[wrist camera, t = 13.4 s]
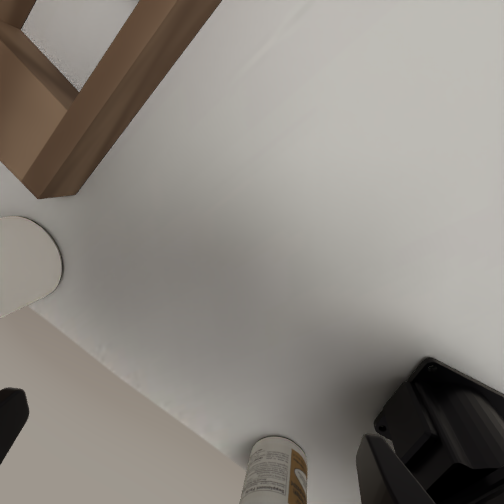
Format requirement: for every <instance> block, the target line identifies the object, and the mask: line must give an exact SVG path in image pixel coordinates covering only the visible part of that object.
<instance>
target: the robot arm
mask: <svg viewBox="0 0 504 504" xmlns="http://www.w3.org/2000/svg"><path fill="white" fill-rule="evenodd" d="M432 365H433V366H434V367H433V368H431V369H429V368H428V367H429V366H432ZM28 416H29V407H28V403H27V399H26V394H25V392H24V390H22V389H18V388H4V389H2V390H0V464H1V463H2V461H3V459H4V458H5V456H6V454H7V453H8V451H9V449H10V448H11V446H12V445H13V443H14V441H15V439H16V438H17V436H18V434H19V433H20V431H21V430H22V428H23V426H24V425H25V423H26V421H27V419H28ZM382 425H383V426H384V427H380V426H382ZM374 427H375V430H376V432H377V433H379V434H381V435H382V436H384V437H386V438H388V439H390V440H392V442H393V445H394V449H395V452H396V454H395V453H394V451H393V450H392V449H391V448H390V446H389V445H388V444H387V443H386V441H385V440H384V439H383V438H382V437H381V436H379V435H374V434H364V435H363V437H362V440H361V443H360V446H359V449H358V452H357V456H356V466H357V473H358V480H359V488H360V495H361V502H362V504H504V394H502V393H500V392H498V391H496V390H494V389H492V388H490V387H488V386H486V385H484V384H482V383H480V382H478V381H476V380H474V379H472V378H471V377H469V376H467V375H465V374H463V373H461V372H459V371H457V370H455V369H453V368H451V367H449V366H447V365H445V364H443V363H441V362H439V361H438V360H436V359H433V358H428V359H425V360H424V361H423V362H422V363H421V364H420V365H419V367H418V368H417V369H416V370H415V371H414V373H413V374H412V375H411V376H410V378H409V379H408V380H407V381H406V382H404V383H403V384H402V385H401V386H400V388H399V389H398V390H397V391H396V393H395V394H394V395H393V396H392V397H391V399H390V400H389V401H388V402H387V404H386V405H385V406H384V407H383V411H382V412H381V413H380V415H379V416H378V417H377V418H376V419H375V421H374Z"/></svg>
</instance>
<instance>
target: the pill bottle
mask: <svg viewBox="0 0 504 504" xmlns="http://www.w3.org/2000/svg"><path fill="white" fill-rule="evenodd" d="M307 469H308V466H307V459H306V456H305V454H304V452H303V451H302V450H301V448H300V447H299V446H297V445H296V444H295V443H294V442H292V441H291V440H289V439H286V438H282V437H267V438H263V439H261V440H260V441H258V442H257V443H256V444H255V445H254V446H253V448H252V451H251V454H250V459H249V463H248V467H247V472H246V477H245V481H244V486H243V490H242V495H241V499H240V503H239V504H307Z"/></svg>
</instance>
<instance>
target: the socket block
mask: <svg viewBox="0 0 504 504" xmlns="http://www.w3.org/2000/svg"><path fill="white" fill-rule="evenodd" d="M35 1H36V0H0V161H1V162H2V163H3V164H4V165H5V166H6V167H7V168H8V169H9V170H10V171H11V172H12V173H13V174H14V175H15V176H16V177H17V178H18V179H19V180H20V181H21V182H22V183H23V184H24V186H25V187H26V188H27V189H28V190H29V191H30V192H31V193H32V194H33V195H34V196H35V197H36V198H37V199H44V198H53V197H61V196H69V195H76V193H77V192H78V191H79V189H80V188H81V187H82V185H83V184H84V183H85V181H86V180H87V179H88V177H89V176H90V175H91V173H92V172H93V171H94V169H95V168H96V167H97V165H98V164H99V163H100V161H101V160H102V159H103V157H104V156H105V155H106V153H107V152H108V151H109V149H110V148H111V147H112V145H113V144H114V143H115V141H116V140H117V139H118V137H119V136H120V135H121V134H122V132H123V131H124V130H125V128H126V127H127V126H128V124H129V123H130V122H131V120H132V119H133V118H134V116H135V115H136V114H137V112H138V111H139V110H140V108H141V107H142V106H143V104H144V103H145V102H146V100H147V99H148V98H149V96H150V95H151V94H152V92H153V91H154V90H155V88H156V87H157V86H158V84H159V83H160V82H161V80H162V79H163V78H164V76H165V75H166V74H167V72H168V71H169V70H170V68H171V67H172V66H173V64H174V63H175V62H176V61H177V59H178V58H179V57H180V55H181V54H182V53H183V51H184V50H185V49H186V47H187V46H188V45H189V43H190V42H191V41H192V39H193V38H194V37H195V35H196V34H197V33H198V31H199V30H200V29H201V27H202V26H203V25H204V23H205V22H206V21H207V19H208V18H209V17H210V15H211V14H212V13H213V11H214V10H215V9H216V7H217V6H218V5H219V3H220V2H221V1H222V0H140V1H139V2H138V4H137V6H136V7H135V9H134V10H133V12H132V13H131V15H130V16H129V18H128V19H127V21H126V22H125V24H124V25H123V27H122V28H121V30H120V31H119V33H118V34H117V36H116V37H115V39H114V41H113V42H112V44H111V45H110V47H109V48H108V50H107V51H106V53H105V54H104V56H103V57H102V59H101V60H100V62H99V63H98V65H97V66H96V68H95V69H94V71H93V72H92V74H91V76H90V77H89V79H88V80H87V82H86V83H85V85H84V86H83V88H82V89H81V91H80V92H78V91H77V89H76V88H75V87H74V86H73V85H72V84H71V83H70V82H69V81H68V80H67V79H66V78H65V77H64V76H63V75H62V74H61V72H60V71H59V70H58V69H57V68H56V67H55V66H54V65H53V64H52V63H51V62H50V61H49V60H48V59H47V58H46V56H45V55H44V54H43V53H42V52H41V51H40V50H39V49H38V48H37V47H36V46H35V45H34V44H33V43H32V42H31V40H30V39H29V38H28V37H27V36H26V35H25V34H24V33H23V32H22V31H21V30H20V29H21V27H22V25H23V24H24V22H25V20H26V18H27V16H28V14H29V12H30V11H31V9H32V7H33V5H34V3H35Z"/></svg>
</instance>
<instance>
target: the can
mask: <svg viewBox="0 0 504 504" xmlns="http://www.w3.org/2000/svg"><path fill="white" fill-rule="evenodd" d="M61 274H62V258H61V254H60V251H59V249H58V247H57V245H56V243H55V241H54V240H53V238H52V237H51V236H50V235H49V233H48V232H47V231H46V230H44V229H43V228H42V227H41V226H39V225H38V224H36V223H34V222H33V221H31V220H29V219H26V218H23V217H18V216H9V217H1V218H0V319H1V318H3V317H5V316H7V315H9V314H11V313H13V312H15V311H17V310H19V309H21V308H23V307H25V306H27V305H29V304H31V303H33V302H35V301H37V300H39V299H41V298H43V297H45V296H47V295H49V294H50V293H52V292H53V291H54V290H55V289H56V287H57V286H58V284H59V281H60V278H61Z"/></svg>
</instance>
